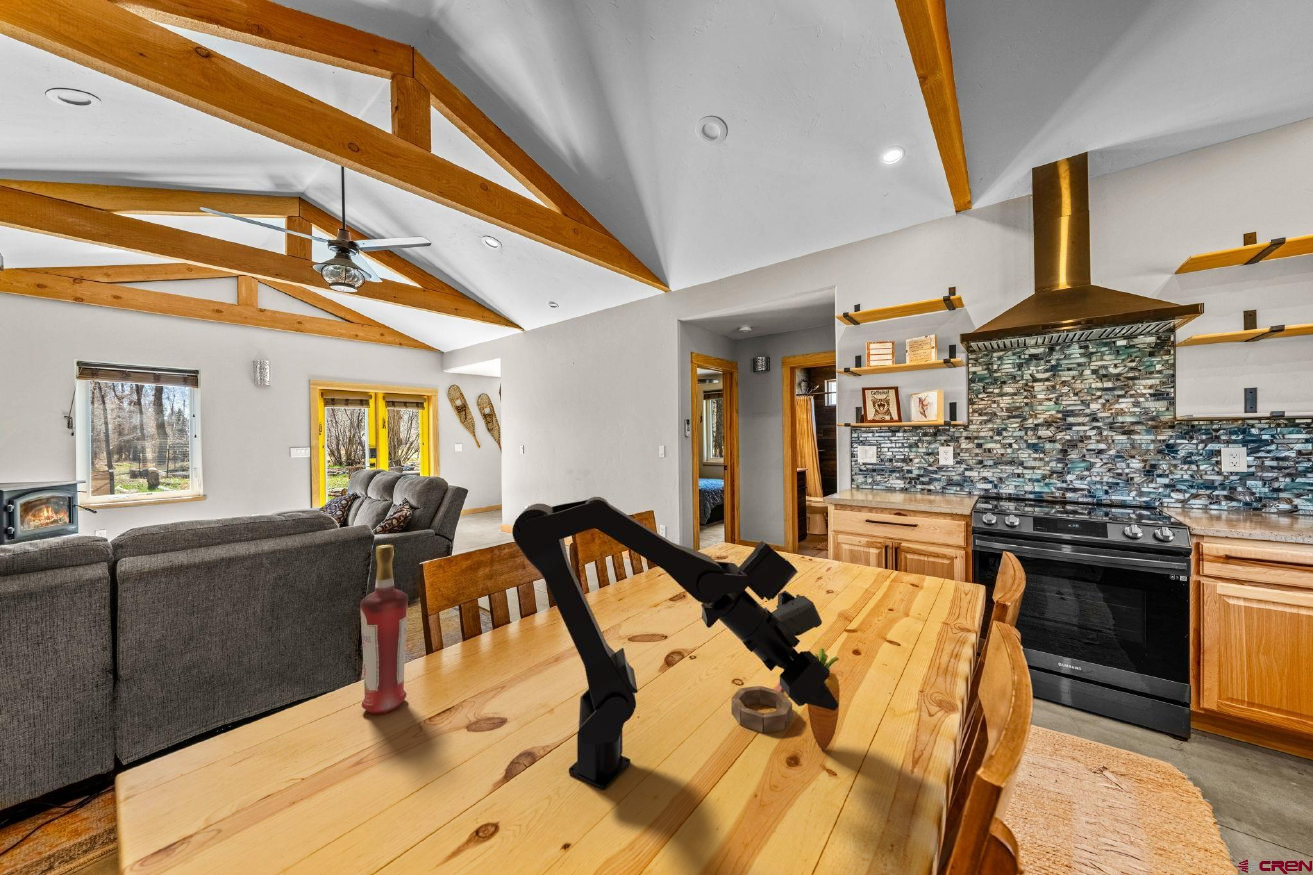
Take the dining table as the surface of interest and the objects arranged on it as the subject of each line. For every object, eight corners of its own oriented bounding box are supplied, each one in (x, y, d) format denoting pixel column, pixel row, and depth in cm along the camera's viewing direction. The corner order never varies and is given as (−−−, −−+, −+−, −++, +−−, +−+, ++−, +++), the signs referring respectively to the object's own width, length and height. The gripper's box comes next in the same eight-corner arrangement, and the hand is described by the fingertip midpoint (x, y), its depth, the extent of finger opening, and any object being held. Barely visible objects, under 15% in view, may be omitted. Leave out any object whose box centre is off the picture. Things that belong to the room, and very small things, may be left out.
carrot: (813, 735, 77) (813, 640, 77) (845, 748, 74) (845, 649, 74) (800, 751, 74) (800, 651, 74) (833, 765, 70) (833, 660, 70)
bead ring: (780, 738, 77) (780, 722, 77) (724, 720, 81) (724, 705, 81) (796, 710, 85) (796, 695, 85) (745, 695, 89) (745, 681, 89)
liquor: (356, 705, 86) (356, 545, 86) (402, 691, 91) (402, 540, 91) (364, 724, 80) (364, 553, 80) (412, 708, 85) (413, 547, 85)
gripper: (814, 602, 64) (893, 680, 65) (764, 565, 82) (827, 627, 84) (756, 666, 63) (838, 745, 64) (719, 614, 81) (783, 676, 83)
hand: (821, 690), depth 74 cm, fingers open, 9 cm apart
